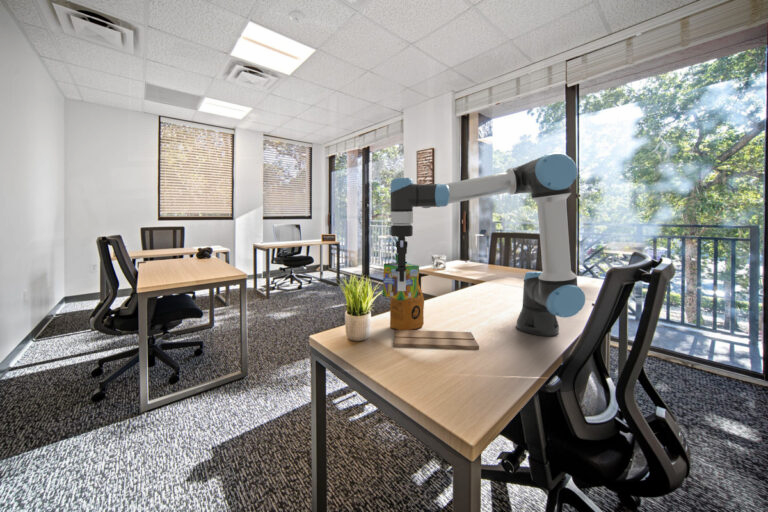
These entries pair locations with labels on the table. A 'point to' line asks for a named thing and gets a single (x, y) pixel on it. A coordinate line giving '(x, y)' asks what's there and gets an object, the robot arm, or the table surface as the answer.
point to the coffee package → (407, 312)
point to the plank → (434, 334)
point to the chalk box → (392, 281)
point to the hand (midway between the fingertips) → (401, 286)
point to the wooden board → (436, 343)
